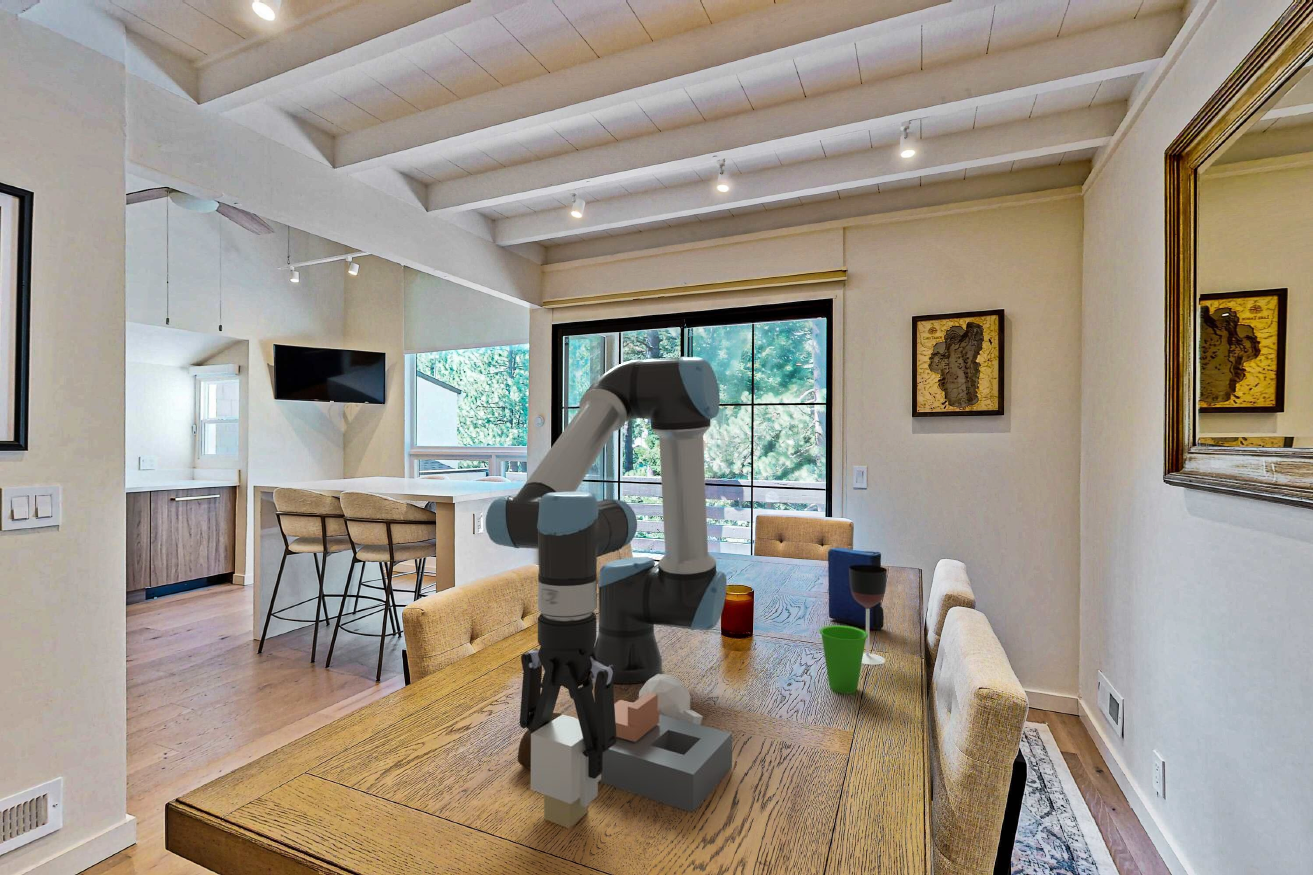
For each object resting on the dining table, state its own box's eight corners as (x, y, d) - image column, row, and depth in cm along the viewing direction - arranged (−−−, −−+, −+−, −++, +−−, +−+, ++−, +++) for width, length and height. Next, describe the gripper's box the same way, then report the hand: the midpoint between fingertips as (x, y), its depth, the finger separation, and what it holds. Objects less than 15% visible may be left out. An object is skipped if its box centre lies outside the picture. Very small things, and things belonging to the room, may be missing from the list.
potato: (508, 762, 92) (508, 715, 92) (569, 741, 98) (569, 698, 98) (528, 783, 86) (528, 733, 86) (592, 760, 92) (592, 713, 92)
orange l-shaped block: (594, 730, 91) (594, 699, 91) (620, 712, 97) (620, 683, 97) (635, 741, 87) (635, 710, 87) (659, 722, 93) (659, 692, 93)
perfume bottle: (620, 716, 103) (670, 752, 94) (637, 662, 104) (688, 692, 95) (653, 716, 109) (704, 749, 100) (669, 665, 110) (721, 694, 101)
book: (886, 628, 158) (886, 551, 158) (875, 633, 155) (875, 553, 155) (836, 616, 169) (836, 544, 169) (826, 620, 165) (826, 546, 165)
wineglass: (847, 662, 134) (847, 570, 134) (850, 649, 142) (850, 563, 142) (886, 667, 131) (886, 573, 131) (887, 654, 139) (887, 566, 139)
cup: (870, 699, 114) (871, 640, 114) (820, 695, 116) (820, 637, 116) (864, 681, 123) (864, 626, 123) (818, 677, 125) (818, 623, 125)
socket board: (580, 775, 88) (580, 740, 88) (628, 737, 99) (628, 706, 99) (693, 813, 79) (693, 774, 79) (731, 766, 91) (732, 732, 91)
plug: (530, 820, 78) (531, 733, 78) (562, 795, 83) (562, 714, 83) (571, 837, 74) (571, 746, 74) (601, 809, 80) (601, 725, 80)
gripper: (490, 609, 80) (489, 785, 80) (614, 632, 71) (613, 832, 71) (529, 596, 87) (528, 759, 87) (646, 616, 77) (646, 799, 77)
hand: (566, 791), depth 79 cm, fingers closed on plug, 6 cm apart
